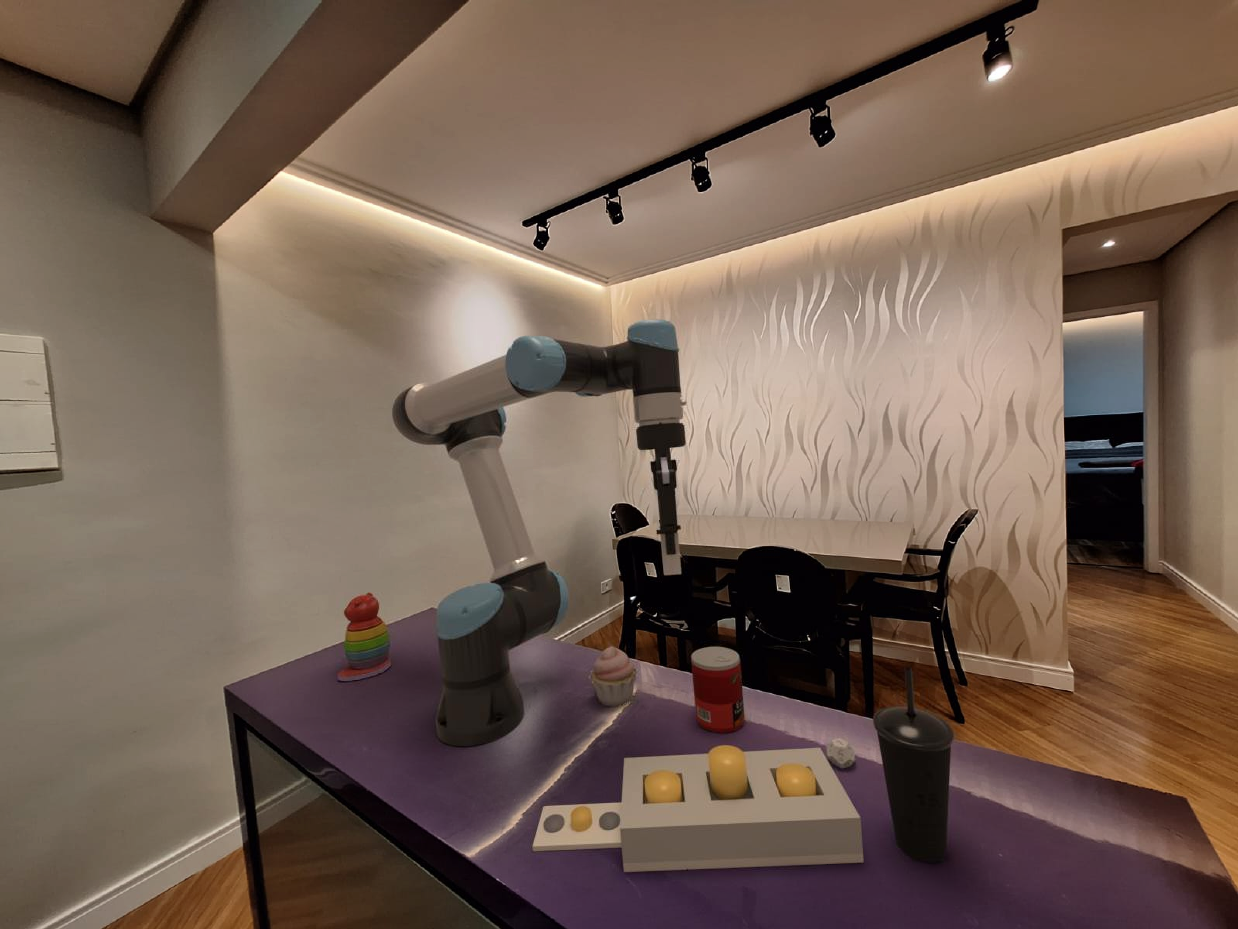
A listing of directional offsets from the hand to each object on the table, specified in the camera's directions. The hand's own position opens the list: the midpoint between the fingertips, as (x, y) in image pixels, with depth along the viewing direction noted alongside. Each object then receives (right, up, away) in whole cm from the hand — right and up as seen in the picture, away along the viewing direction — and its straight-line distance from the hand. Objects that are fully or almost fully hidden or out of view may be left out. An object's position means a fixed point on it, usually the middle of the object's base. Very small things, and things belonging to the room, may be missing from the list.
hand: (672, 573), depth 76 cm
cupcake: (-9, -27, +15) cm, 32 cm away
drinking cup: (+25, -25, -22) cm, 42 cm away
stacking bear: (-67, -31, +37) cm, 82 cm away
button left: (-3, -26, -17) cm, 31 cm away
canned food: (+9, -26, +5) cm, 28 cm away
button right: (+13, -24, -18) cm, 33 cm away
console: (+5, -27, -17) cm, 32 cm away
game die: (+23, -25, -8) cm, 35 cm away
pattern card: (-13, -28, -16) cm, 35 cm away
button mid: (+5, -22, -17) cm, 29 cm away
